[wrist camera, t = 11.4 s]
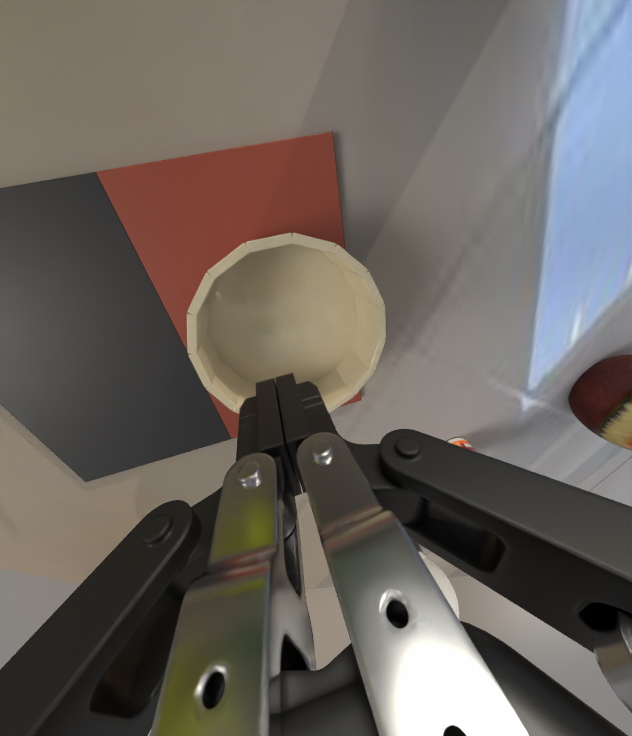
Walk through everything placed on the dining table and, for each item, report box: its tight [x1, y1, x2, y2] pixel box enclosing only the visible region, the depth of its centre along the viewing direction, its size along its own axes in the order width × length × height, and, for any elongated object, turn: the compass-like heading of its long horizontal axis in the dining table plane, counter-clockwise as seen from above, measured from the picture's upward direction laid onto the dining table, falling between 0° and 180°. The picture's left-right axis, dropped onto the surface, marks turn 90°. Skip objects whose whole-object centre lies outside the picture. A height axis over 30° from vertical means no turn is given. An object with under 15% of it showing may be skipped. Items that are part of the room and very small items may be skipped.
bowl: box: [187, 233, 386, 414], centre depth 17 cm, size 12×12×4 cm
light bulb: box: [411, 539, 459, 619], centre depth 38 cm, size 7×7×11 cm
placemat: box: [0, 132, 361, 482], centre depth 18 cm, size 26×20×1 cm
